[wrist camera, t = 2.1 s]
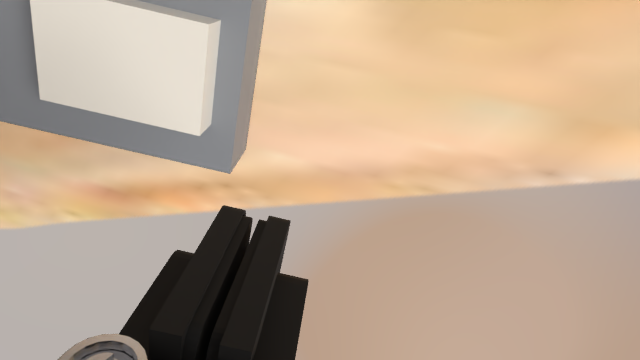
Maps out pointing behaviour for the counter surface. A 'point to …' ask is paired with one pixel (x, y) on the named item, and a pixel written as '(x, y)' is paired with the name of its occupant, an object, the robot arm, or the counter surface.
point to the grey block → (204, 151)
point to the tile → (127, 60)
